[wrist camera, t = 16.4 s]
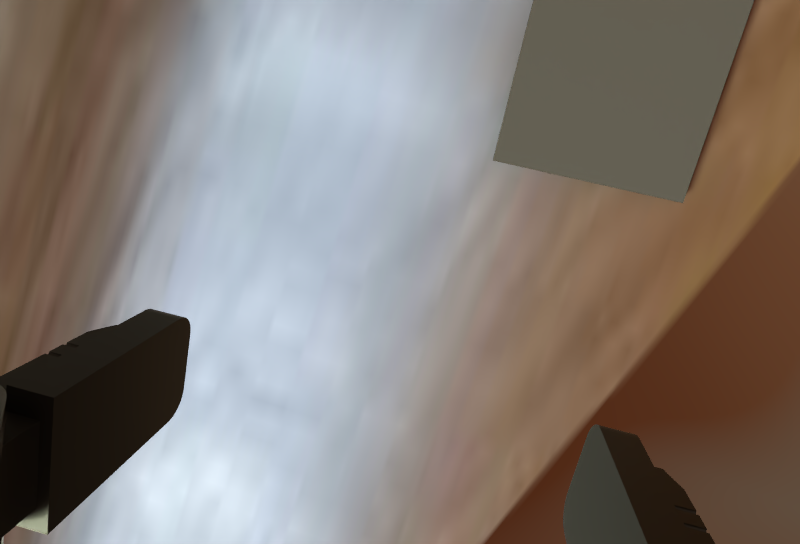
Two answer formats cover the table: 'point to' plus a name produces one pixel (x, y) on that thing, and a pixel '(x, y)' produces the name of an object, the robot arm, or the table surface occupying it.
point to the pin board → (620, 90)
